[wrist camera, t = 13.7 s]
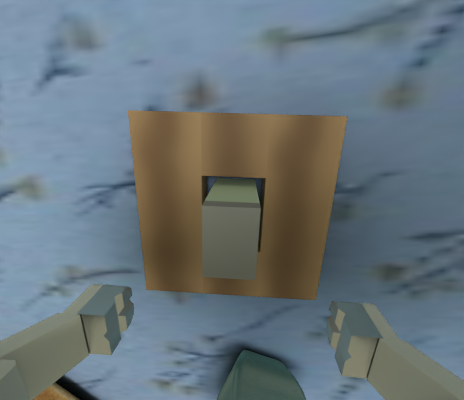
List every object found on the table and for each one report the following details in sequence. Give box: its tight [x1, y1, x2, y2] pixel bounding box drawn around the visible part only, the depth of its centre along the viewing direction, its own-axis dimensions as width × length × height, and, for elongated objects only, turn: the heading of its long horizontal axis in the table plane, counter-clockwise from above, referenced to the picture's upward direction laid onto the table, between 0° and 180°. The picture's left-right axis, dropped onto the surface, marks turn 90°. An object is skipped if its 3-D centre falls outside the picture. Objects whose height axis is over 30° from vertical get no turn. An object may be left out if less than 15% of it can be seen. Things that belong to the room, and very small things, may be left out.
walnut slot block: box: [128, 111, 348, 300], centre depth 20 cm, size 16×16×3 cm
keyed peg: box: [202, 178, 261, 280], centre depth 18 cm, size 4×5×8 cm
